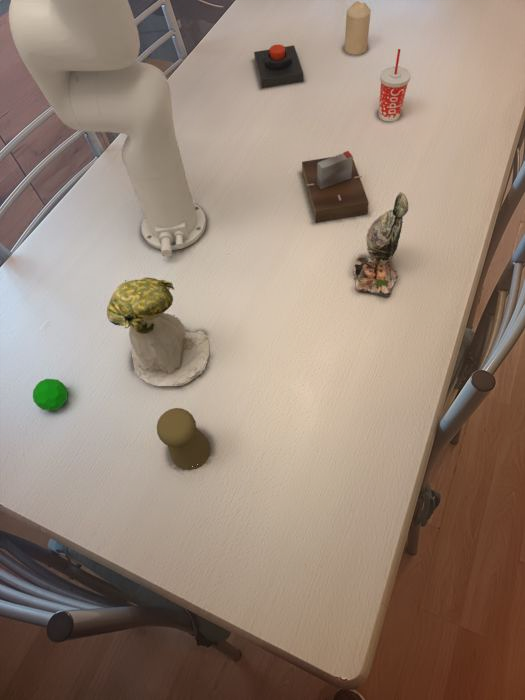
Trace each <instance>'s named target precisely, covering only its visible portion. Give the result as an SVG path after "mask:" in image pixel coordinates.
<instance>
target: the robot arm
mask: <svg viewBox="0 0 525 700" xmlns="http://www.w3.org/2000/svg"><path fill="white" fill-rule="evenodd" d="M8 22H9V29H10V32H11V38H12V40H13V43H14V46H15V48H16V51H17V53H18V55H19V56H20V57H19V58H21V60H22V62H23V64H24V65H25V67H26V69H27V70H28V72H29V73H30V75H31V77H32V78H33V80H34V81H35V83H36V85H37V87H38V88H39V89H40V92H41V93H42V94H43V96H44V98H45V99H46V101H47V102H48V104H49V106H50V107H51V108H52V110H53V112H54V113H55V114H56V116H57V117H58V119H59V120H60V121H61V122H62V124H64V125H65V126H66V127H68V128H69V129H71V130H74V131H79V132H92V133H113V134H124V135H126V137H125V140H124V142H123V145H122V149H121V159H122V162H123V166H124V168H125V170H126V172H127V175H128V179H129V181H130V183H131V186H132V188H133V191H134V194H135V196H136V199H137V201H138V204H139V206H140V210H141V211H142V214H143V219H142V221H141V225H140V226H141V227H140V229H141V233H142V236H143V238H144V240H145V242H146V243H147V244H149V246H151V247H153V248H154V249H157V250H160V253H161V256H163V257H165V258H168V257H169V258H170V257H171V256H173V251H177V250H182V249H184V248H187V247H189V246H191V245H192V244H195V242H197V241H198V240H199V239H200V238H201V237H202V235H203V234H204V233H205V230H206V227H207V219H206V215H205V212H204V210H203V209H202V207H200V206H199V205H198V204H197V203H195V202H194V200H193V197H192V193H191V190H190V185H189V182H188V178H187V173H186V171H185V170H186V169H185V167H184V163H183V158H182V154H181V151H180V147H179V144H178V139H177V135H176V129H175V124H174V116H173V115H174V114H173V103H172V94H171V88H170V83H169V80H168V78H167V77H166V74H165V73H164V72H163V71H162V70H161V69H160V68H159V67H157V66H155V65H153V64H150V63H147V62H143V61H136V60H138V59H137V58H138V57H139V54H140V48H141V40H140V33H139V31H138V30H139V29H138V25H137V22H136V20H135V16H134V14H133V11H132V7H131V5H130V3H129V0H10V3H9V7H8Z"/></svg>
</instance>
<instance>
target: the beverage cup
mask: <svg viewBox="0 0 525 700" xmlns="http://www.w3.org/2000/svg"><path fill="white" fill-rule="evenodd" d="M400 56H401V48H398V49H397V54H396V59H395V65H394V66H389V67H388V66H387V67H385V68H384V69H382V70H381V72H380V74H379V81H380V88H379V89H380V90H379V103H378V117H379V118H380V120H381V121H384V122H395V121H397V120H398V119H400V117H401V113H402V109H403V105H404V100H405V96H406V93H407V88H408V84H409V82H410V81H411V77H412V75H411V74H412V73H411V71H410V70H408V69H407V68H405V67H403V66H399V61H400Z"/></svg>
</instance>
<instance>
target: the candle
mask: <svg viewBox="0 0 525 700" xmlns="http://www.w3.org/2000/svg"><path fill="white" fill-rule="evenodd" d="M345 15H346V17H345V32H344V33H345V34H344V52H346V53H347V54H349V55H352V56H357V55H362V54H364V53H365V52H366V51H367V49H368V43H369V42H368V41H369V34H370V33H369V32H370V23H371V22H370V21H371V8H370V7H369V5H367V3H366V2H360V1H357V0H356V1H355V2H353V4H351V5H350V6H349V7H348V8H347V9H346V14H345Z"/></svg>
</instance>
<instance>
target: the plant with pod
mask: <svg viewBox="0 0 525 700" xmlns="http://www.w3.org/2000/svg"><path fill="white" fill-rule="evenodd" d="M408 212H409V201H408V197H407V196H406V194H405V193H403V192H401V191H400V192H399V193H398V194H397V196H396V198H395V201H394V205H393V209H389V210H388V211H385V212H384V213H383V214H381V215H380V216H379V217H377V218H376V219H375V220H374V221H373V222H372V223H371V225H370V227H368V229H367V232H366V237H365V238H366V247H367V249H366V251H367V253H368V254H369V256H370V257H371V258H370V257H366V256H361V257H357V258H356V262H355V264H354V266H353V269H352V272H353V276H354V277H353V280H354V281H355V290H356V291H358V292H361V293H362V292H365V293H367V292H369V293H371V294H372V293H374V295H381V297H384V298H385V297H388V296H390V295H391V292H392V290H393V287H394V285H395V283H396V281H397V279H398V273H397V270H395V267H394V264H393V262H392V261H391V260H392V259H393V257H394V255H395V253H396V251H397V250H398V247H399V241H400V238H401V233H402V228H403V223H404V220H403V219H404V218H403V217H405V216H406V214H407V213H408Z"/></svg>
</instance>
